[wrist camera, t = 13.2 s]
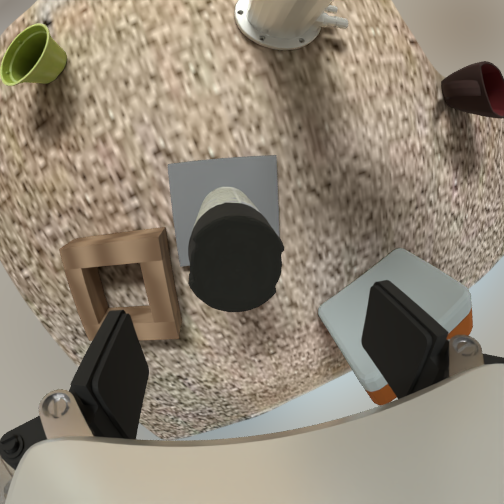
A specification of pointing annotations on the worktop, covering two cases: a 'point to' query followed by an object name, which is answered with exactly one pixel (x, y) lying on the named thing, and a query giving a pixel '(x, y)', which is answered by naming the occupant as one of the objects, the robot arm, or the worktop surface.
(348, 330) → the alarm clock
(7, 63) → the plant pot
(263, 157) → the slate coaster
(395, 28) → the worktop surface
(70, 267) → the walnut collar
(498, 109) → the cup
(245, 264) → the spray can
